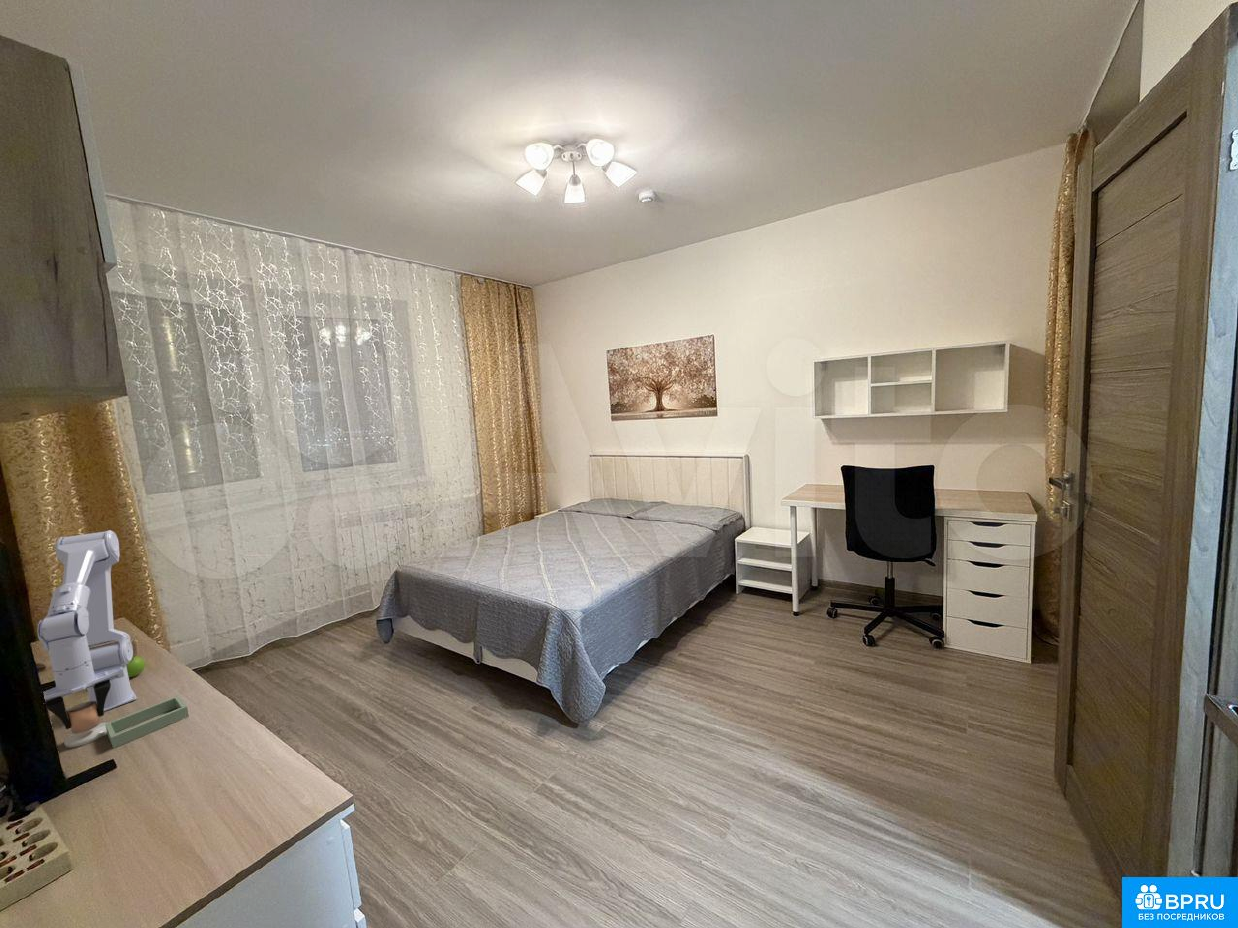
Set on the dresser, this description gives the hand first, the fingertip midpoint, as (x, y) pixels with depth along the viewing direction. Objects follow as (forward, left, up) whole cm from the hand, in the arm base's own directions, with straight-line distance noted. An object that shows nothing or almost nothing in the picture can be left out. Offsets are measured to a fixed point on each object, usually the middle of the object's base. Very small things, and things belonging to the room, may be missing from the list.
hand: (84, 720), depth 108 cm
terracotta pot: (0, 0, -2) cm, 2 cm away
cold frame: (+7, +9, -4) cm, 12 cm away
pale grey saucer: (0, 0, -4) cm, 4 cm away
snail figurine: (-29, +12, -4) cm, 31 cm away
